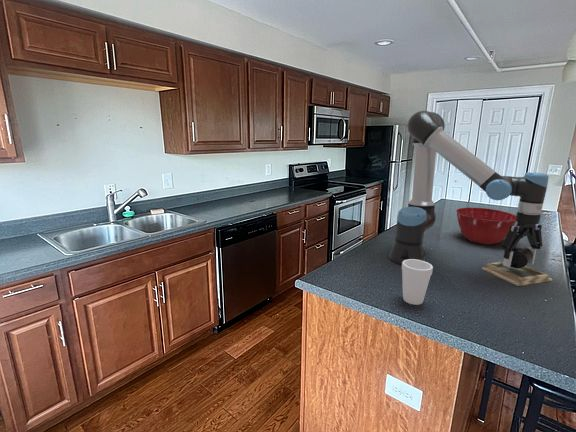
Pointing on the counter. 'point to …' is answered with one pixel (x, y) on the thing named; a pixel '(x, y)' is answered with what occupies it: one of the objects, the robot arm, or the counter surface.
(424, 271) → the foam cup
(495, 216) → the mixing bowl
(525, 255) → the end cap
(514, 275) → the picture frame
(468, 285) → the counter surface
